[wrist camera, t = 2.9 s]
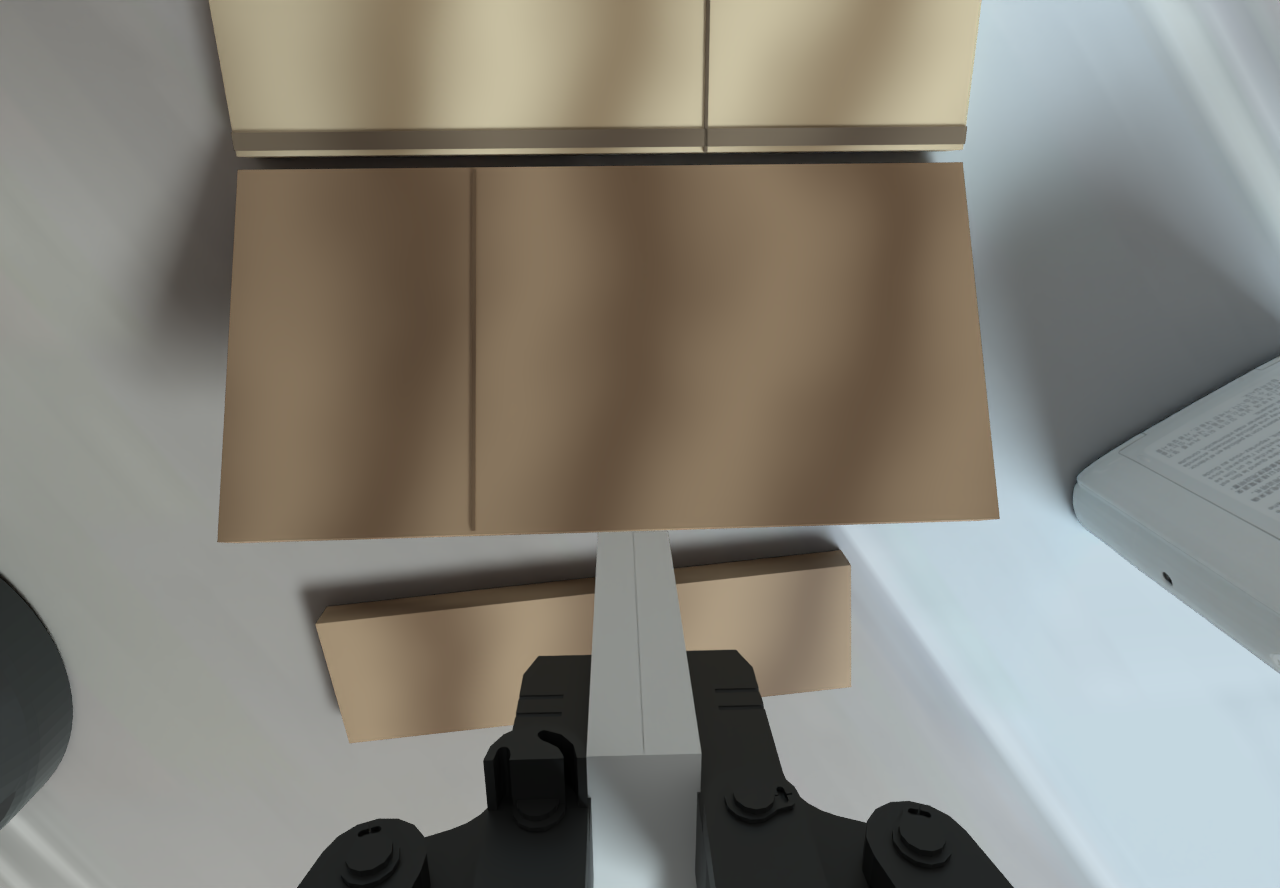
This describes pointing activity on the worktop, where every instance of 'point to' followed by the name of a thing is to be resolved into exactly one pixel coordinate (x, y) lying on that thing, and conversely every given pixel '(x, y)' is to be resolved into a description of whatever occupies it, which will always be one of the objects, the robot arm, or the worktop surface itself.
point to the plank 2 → (573, 640)
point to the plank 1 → (601, 351)
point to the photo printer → (1202, 507)
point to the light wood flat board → (594, 76)
